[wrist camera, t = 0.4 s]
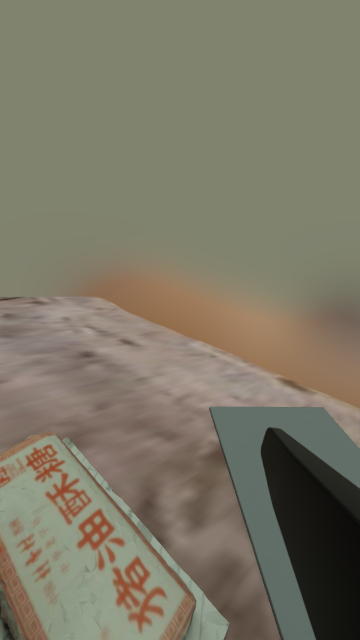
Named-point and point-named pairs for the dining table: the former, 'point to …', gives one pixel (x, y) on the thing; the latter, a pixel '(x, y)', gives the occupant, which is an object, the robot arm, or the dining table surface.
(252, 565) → the dining table surface
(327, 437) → the mat
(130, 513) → the packaged product
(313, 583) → the robot arm
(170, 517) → the dining table surface
